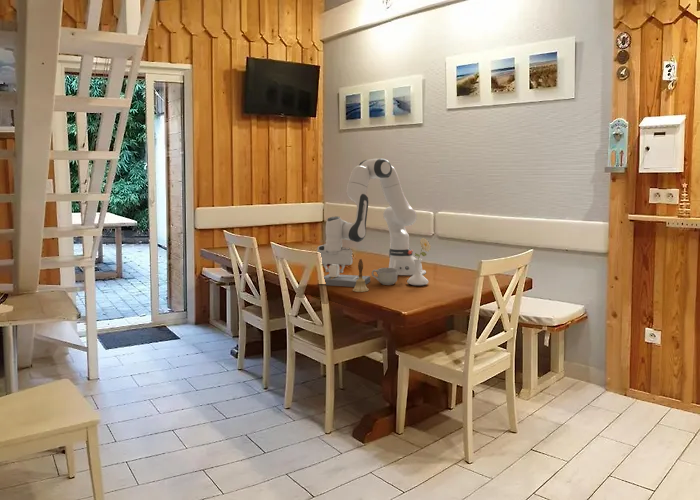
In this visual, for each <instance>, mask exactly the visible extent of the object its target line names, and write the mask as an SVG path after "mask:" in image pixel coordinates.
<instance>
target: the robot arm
mask: <svg viewBox="0 0 700 500" xmlns="http://www.w3.org/2000/svg"><path fill="white" fill-rule="evenodd" d="M373 179H374V180H377V179H378V180H379V182H380V186H381V190H382V193H383V197H384V199H385V202H386V203H388V204H389V206H387V207H386V208H385V209H384V211H383V212H382V215H383V219H384V221H385V222H386V225H387V229H388V232H389V244H390V245H389V253H388V255H389V256H388V257H389V263H388V268H395V269H397V270H398V274H397V276H413V275H414V274H415V271H416V265H415V262H414V260H413V259H417V258H416V257H415V255H413V252H414V251H413V250H414V249H410V235H409V233H408V232H407V229H406V227H407V226H409V227H410V226H412V225H414V224H415V223H417V222H416V221H417V220H418V219H417V218H418V214H417V212H416V210H415V209H414V208H413V207H412V206H411V205H410V203H409V201H408V199H407V198H406V196H405V193H404V190H403V188H402V187H403V186H402V184H401V180H400V177H399V174H398V172H397V170H396V168H395V167H394V166H393V165H391V163H390V161H389V160H388V159H385V158H382V157H381V158H371V159H365V160H362V161H361V162H360V163H359V164H358V165H356V166H354V167H353V169H352V170H351V172H350V176H349V179H348V182H347V185H346V195H347V197H348V199H349V200H351V202H354V203H355V205H356V214H355V221H353V222H349V221H346V220H344V219H342V217H340V216H331V217H328V218H327V219H326V223H325V237H326V238H325V243H323V244H322V245H321V244H320V245H319V246H317V251H316V253H317V252H320V253H321V257H322V264H321V265H323V267H324V269H325V273H329V267H328V265H332V264H335V265H339V266H341V268H339V274H343V273H344V269H345V267H346V266H350V265H352V264H353V250H352V249H351V248H350V247H344V246H343V240H347V241H351V242H355V243H360V242H361V241H363V240H364V239H365V237H366V235H367V219H368V210H369V197H368V196H367V194H368V192H367V191H368V187H369V182H370V180H373ZM422 265H423V264H422V263H421V264H420V273H421V274H422V275H423V276H424V275H425V274H426V273H427V271H426V269H423V266H422Z"/></svg>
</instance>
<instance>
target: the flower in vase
mask: <svg viewBox="0 0 700 500" xmlns="http://www.w3.org/2000/svg"><path fill="white" fill-rule="evenodd" d="M419 244H420V247H421V249H420V253H417V252H415V253H414V257H415V256H416V257H417V258H416V259H413V260H414V262H415V265H416V271H415V274H414V275H410V277H409V278H408V279H407V281H406V282H407V284H408V285H412V286H416V287H417V286H426V285H428V284H429V279H427V278H426V277H425V276H424V274H423V275H422V274H421V273H420V264H422V261H423V258H421V256H422V257H427V255H428V254H427V253H426V252H430V251H431V247H432V245H431V244H430V243H429V240H428V239H426V238H425V237H422V238H420V241H419ZM424 251H425V252H424Z"/></svg>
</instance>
